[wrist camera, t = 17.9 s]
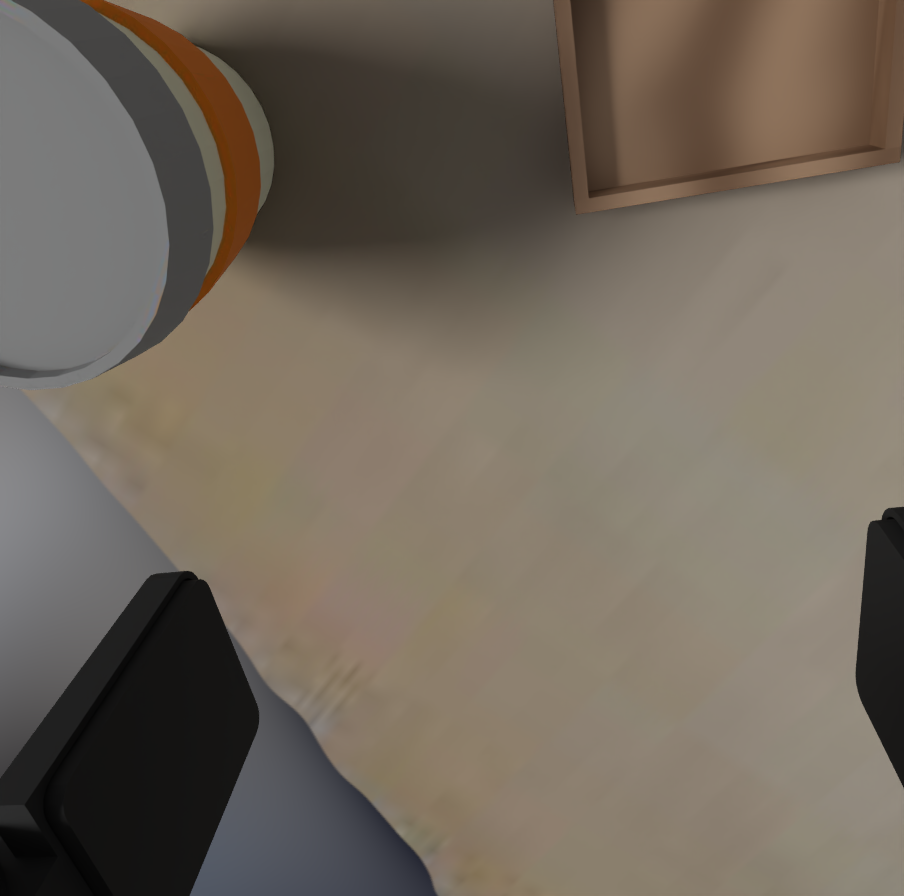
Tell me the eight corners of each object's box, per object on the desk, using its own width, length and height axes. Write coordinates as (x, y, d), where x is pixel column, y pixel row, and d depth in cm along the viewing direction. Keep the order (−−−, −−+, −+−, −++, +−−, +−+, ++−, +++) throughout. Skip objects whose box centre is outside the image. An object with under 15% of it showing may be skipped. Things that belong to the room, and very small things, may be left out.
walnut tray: (899, -130, 28) (926, -143, 26) (878, 155, 33) (899, 162, 31) (548, -52, 31) (548, -58, 29) (574, 205, 35) (576, 214, 33)
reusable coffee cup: (222, -64, 31) (-5, -142, 18) (357, 220, 36) (255, 318, 23) (-1, 71, 35) (-328, 86, 22) (150, 313, 40) (-41, 445, 27)
